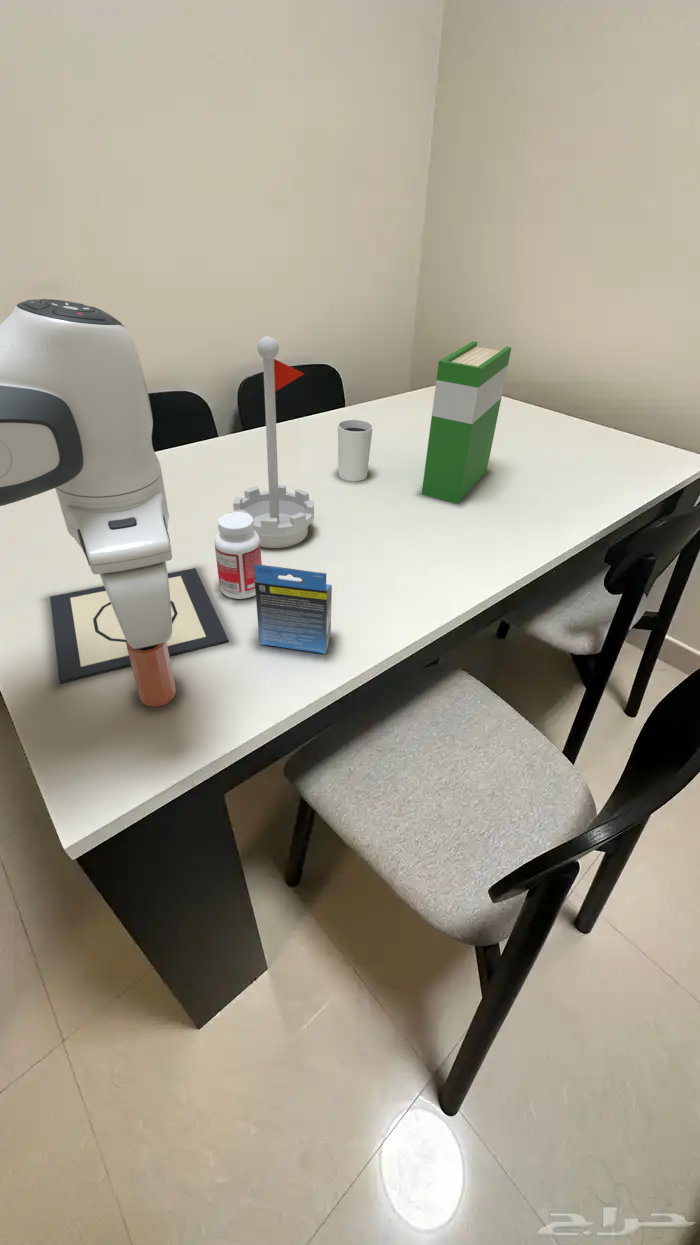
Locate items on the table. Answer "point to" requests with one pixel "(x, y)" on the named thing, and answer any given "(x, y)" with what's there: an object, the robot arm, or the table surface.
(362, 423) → the white cup
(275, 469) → the flag stand
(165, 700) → the pen cup
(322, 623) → the blue retail box
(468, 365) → the hardback book
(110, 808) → the table surface
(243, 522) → the pill bottle
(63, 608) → the desk mat
